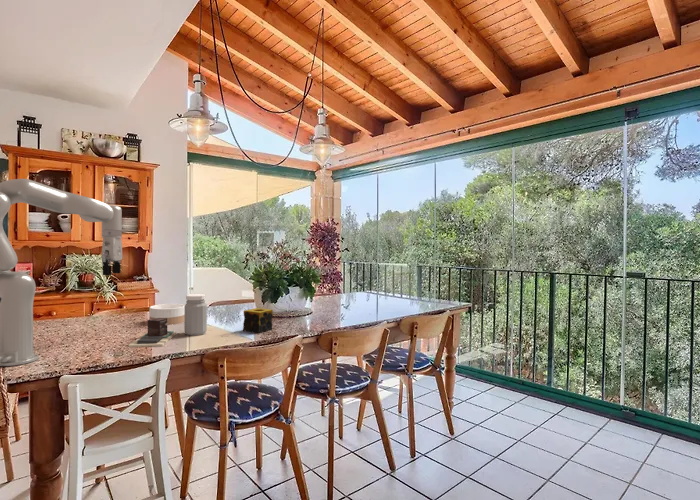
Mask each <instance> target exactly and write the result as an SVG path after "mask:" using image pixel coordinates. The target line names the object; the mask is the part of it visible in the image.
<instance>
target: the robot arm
mask: <svg viewBox="0 0 700 500" xmlns="http://www.w3.org/2000/svg"><path fill="white" fill-rule="evenodd" d="M19 203H20V204H21V203H23V204H27V205H30V206H34V207H38V208H42V209H44V210H48V211H50V212H54V213H60V214H69V215H70V214H71V215H78V217H80V218H81V220H83V221H85V222H86V223H87V222H88V223H101V239H102V247H101V248H102V249H101V262H102V264H101V265H102V275H103V276H112V274H121V265H122V262H121V261H122V260H123V257H124V256H123V243H122V238H123V237H122V235H123V234H122V233H123V232H122V231H123V230H122V229H123V228H122V226H123V225H122V224H123V223H122V222H123V221H122V220H123V219H122V217H123V216H122V215H123V214H122V211H123V209H122V208H121V206H118V205H109V204H108V203H107V202H103V201H101V200H98V199H95V198H91V197H88V196H84V195H80V194H76V193H73V192H68V191H65V190H61V189H58V188H55V187H52V186H49V185H46V184H44V183H41V182H38V181H35V180H32V179H29V178H14V179H13V178H12V179H8V180H4V181H1V182H0V367H12V366H19V365H25V364H28V363H33V362H35V361H37V360H38V359H39V357H40V356H39V354H38V353H34V301H35V300H34V299H35V295H36V290H37V289H36V288H37V285H36V282H35V279H34V277H32V276H31V275H29V274H28V273H25V272H20V271H12V270H13V269H14V268H15V267H16V266H17V264H18V262H19V261H18V259H19V258H18V256H17V255H18V254H17V253H16V250H15V249H14V248H13V246H12V243H11V241H10V240H9V238H8V236H7V234H6V232H5V230H4V226H3V223H4V218H5V216H6V215H7V213H8V212H9V211H10V209H11V206H12V205H14V204H19ZM111 264H112V265H111Z"/></svg>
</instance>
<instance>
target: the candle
mask: <svg viewBox="0 0 700 500" xmlns="http://www.w3.org/2000/svg"><path fill="white" fill-rule="evenodd" d="M273 310H274V309H268V308H263V307H262V308H259V307H255V308H250V309H245V310H243V319H244V320H243V323H242V325H243V326H242V329H243V330H242V331H243V332H248V333H255V334H262V333H265V332H269V331H271V330H273Z"/></svg>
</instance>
